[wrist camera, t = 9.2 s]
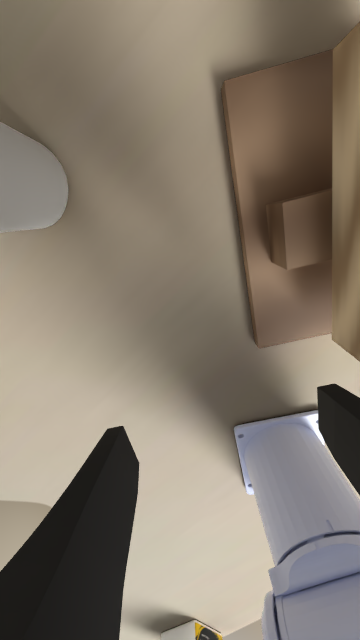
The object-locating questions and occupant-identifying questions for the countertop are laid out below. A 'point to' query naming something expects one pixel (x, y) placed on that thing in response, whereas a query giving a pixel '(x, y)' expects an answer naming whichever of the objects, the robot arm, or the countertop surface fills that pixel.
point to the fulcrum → (284, 194)
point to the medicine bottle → (191, 632)
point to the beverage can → (29, 183)
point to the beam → (346, 194)
